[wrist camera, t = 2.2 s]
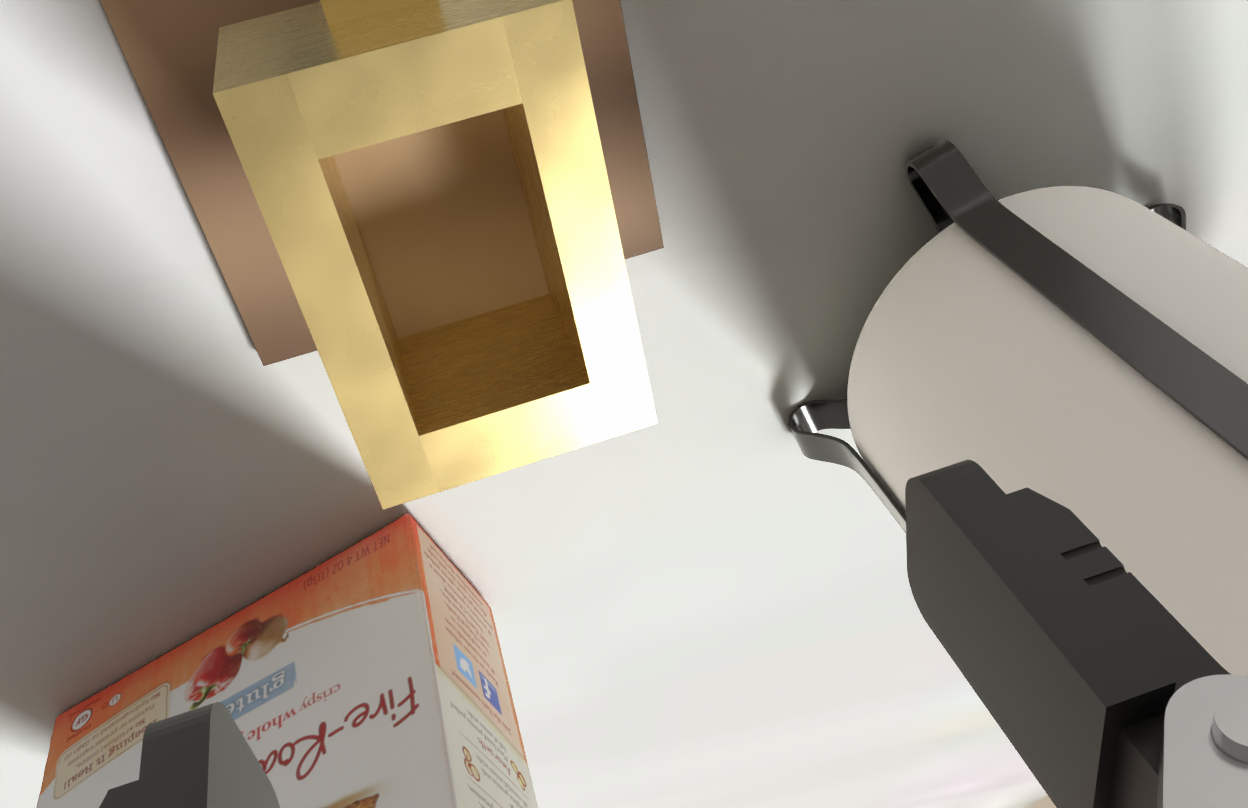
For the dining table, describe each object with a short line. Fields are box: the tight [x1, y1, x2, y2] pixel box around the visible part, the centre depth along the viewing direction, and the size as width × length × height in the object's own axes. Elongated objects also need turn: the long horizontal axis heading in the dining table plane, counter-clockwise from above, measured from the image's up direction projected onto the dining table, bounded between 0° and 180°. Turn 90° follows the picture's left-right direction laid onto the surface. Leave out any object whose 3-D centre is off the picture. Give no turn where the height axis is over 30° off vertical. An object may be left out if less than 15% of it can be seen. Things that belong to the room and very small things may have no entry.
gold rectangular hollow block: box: [213, 0, 657, 510], centre depth 22 cm, size 10×6×4 cm, turn 11°
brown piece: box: [100, 0, 664, 366], centre depth 27 cm, size 12×12×6 cm
